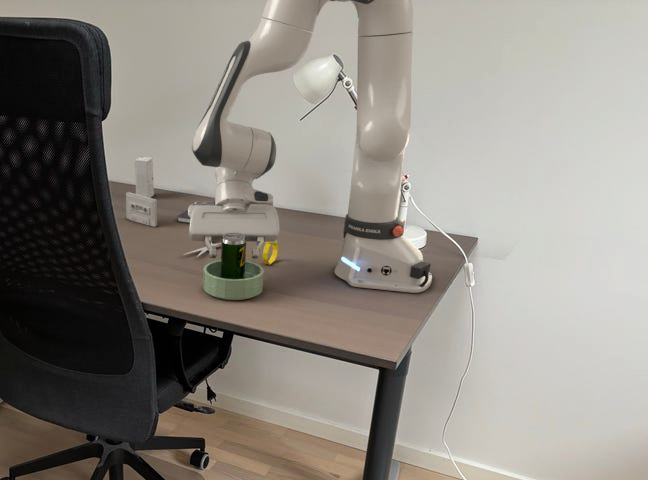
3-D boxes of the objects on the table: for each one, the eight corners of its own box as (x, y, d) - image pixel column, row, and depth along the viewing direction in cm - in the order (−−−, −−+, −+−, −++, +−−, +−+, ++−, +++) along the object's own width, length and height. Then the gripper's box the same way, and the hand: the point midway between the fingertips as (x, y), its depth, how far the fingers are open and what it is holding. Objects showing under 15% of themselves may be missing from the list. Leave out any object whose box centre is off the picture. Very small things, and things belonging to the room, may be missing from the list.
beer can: (218, 291, 165) (220, 239, 159) (221, 282, 169) (223, 231, 164) (242, 292, 164) (245, 240, 158) (245, 284, 169) (247, 233, 163)
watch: (270, 258, 186) (271, 235, 184) (280, 260, 185) (281, 237, 182) (259, 265, 182) (260, 242, 179) (269, 267, 180) (271, 244, 178)
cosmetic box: (148, 199, 235) (147, 161, 229) (135, 198, 236) (134, 160, 230) (154, 194, 240) (153, 157, 234) (141, 193, 241) (140, 156, 235)
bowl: (271, 285, 170) (272, 265, 167) (249, 306, 159) (250, 284, 157) (217, 276, 175) (218, 255, 173) (193, 295, 164) (193, 273, 162)
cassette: (158, 226, 210) (158, 199, 206) (153, 227, 209) (153, 200, 205) (129, 217, 217) (129, 191, 213) (125, 218, 216) (124, 192, 212)
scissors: (245, 239, 197) (206, 259, 182) (245, 241, 198) (206, 262, 183) (211, 232, 202) (170, 251, 187) (211, 234, 203) (170, 254, 188)
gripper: (188, 194, 165) (187, 250, 161) (279, 195, 165) (281, 251, 161) (188, 208, 171) (187, 262, 167) (276, 209, 171) (278, 264, 167)
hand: (234, 257), depth 164 cm, fingers open, 8 cm apart
